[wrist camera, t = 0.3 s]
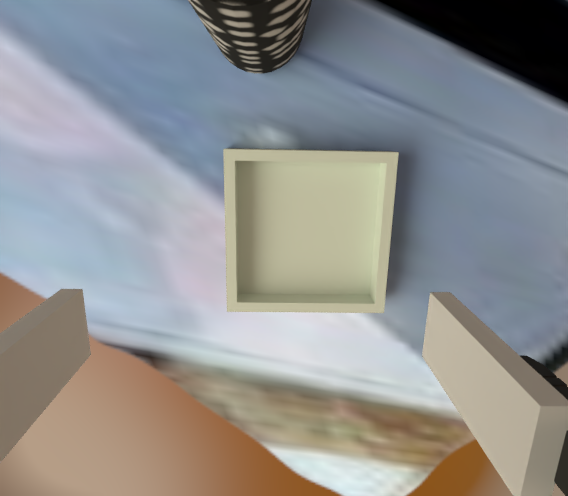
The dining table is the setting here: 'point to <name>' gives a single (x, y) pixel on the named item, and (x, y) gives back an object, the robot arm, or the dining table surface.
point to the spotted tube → (255, 30)
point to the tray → (308, 229)
